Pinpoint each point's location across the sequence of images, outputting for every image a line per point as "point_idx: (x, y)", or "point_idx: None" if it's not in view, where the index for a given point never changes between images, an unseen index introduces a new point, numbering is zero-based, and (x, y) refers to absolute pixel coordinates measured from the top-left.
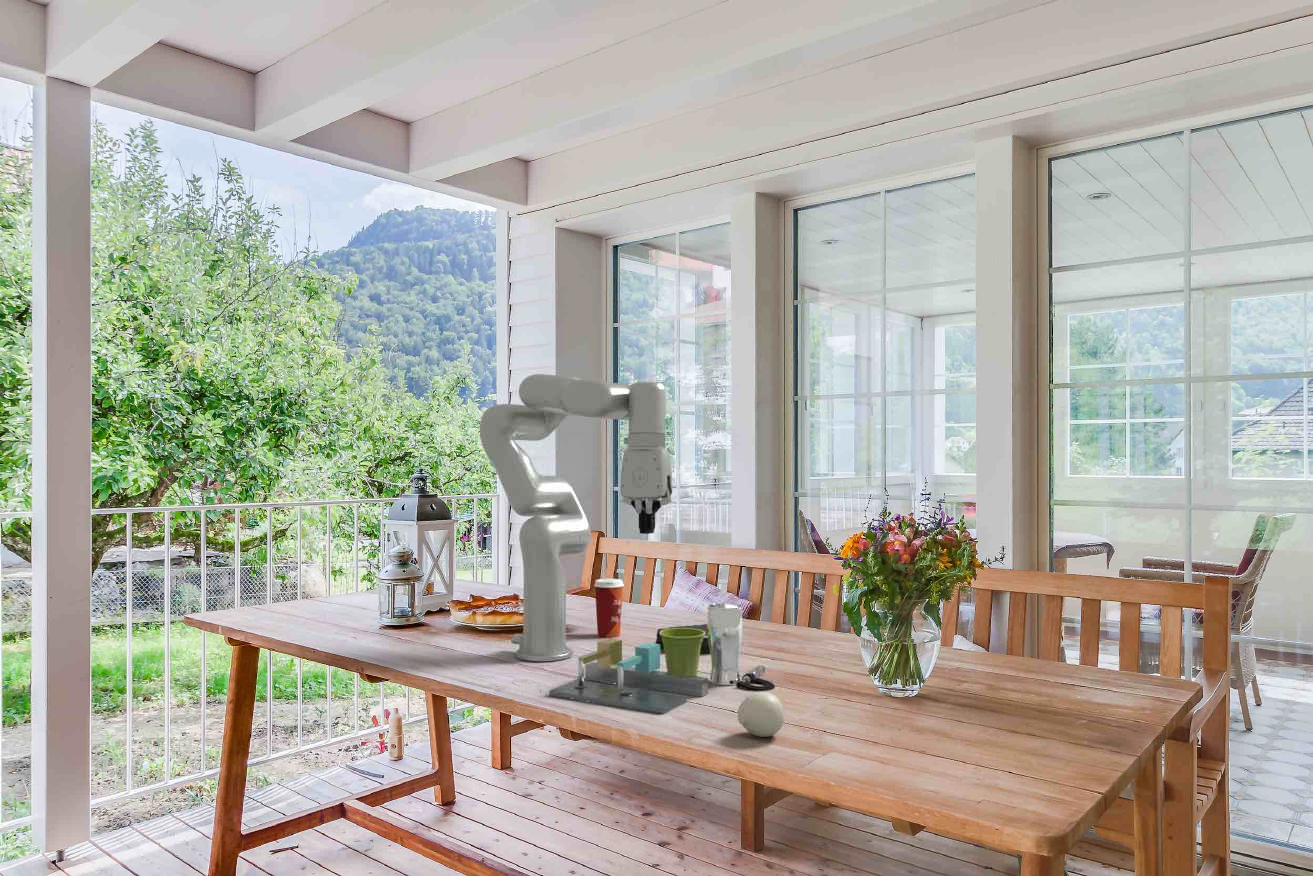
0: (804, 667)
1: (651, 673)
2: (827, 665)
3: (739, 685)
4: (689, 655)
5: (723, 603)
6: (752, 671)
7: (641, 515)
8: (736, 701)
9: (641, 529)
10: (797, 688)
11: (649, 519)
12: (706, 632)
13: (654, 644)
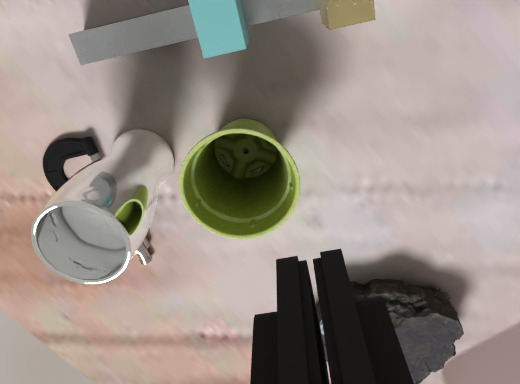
0: (123, 322)
1: None
2: (107, 351)
3: (84, 138)
4: (204, 150)
5: (116, 272)
6: None
7: (345, 371)
8: (15, 53)
9: (326, 267)
10: (22, 206)
11: (273, 375)
12: None
13: (214, 46)
